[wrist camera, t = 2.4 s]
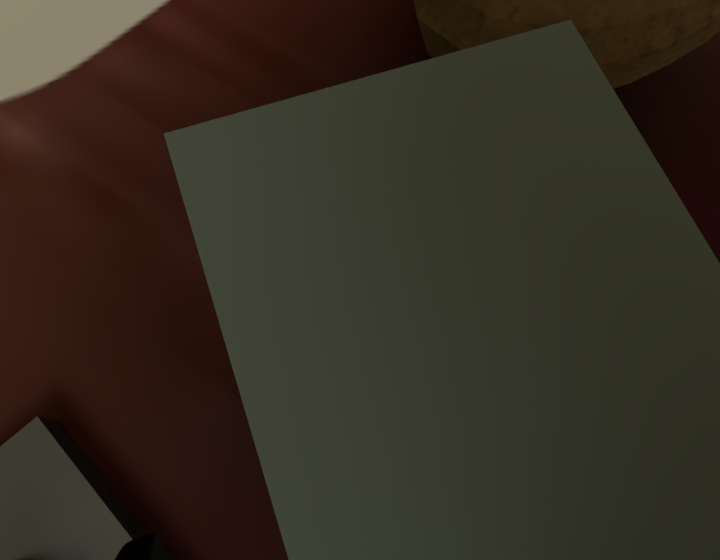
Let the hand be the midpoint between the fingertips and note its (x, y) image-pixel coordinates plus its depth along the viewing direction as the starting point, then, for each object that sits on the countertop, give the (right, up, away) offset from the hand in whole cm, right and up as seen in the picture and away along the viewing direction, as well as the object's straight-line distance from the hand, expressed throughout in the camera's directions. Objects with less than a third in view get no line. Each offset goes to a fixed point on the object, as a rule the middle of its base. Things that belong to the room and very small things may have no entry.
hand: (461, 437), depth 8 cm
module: (-1, -2, +9) cm, 9 cm away
